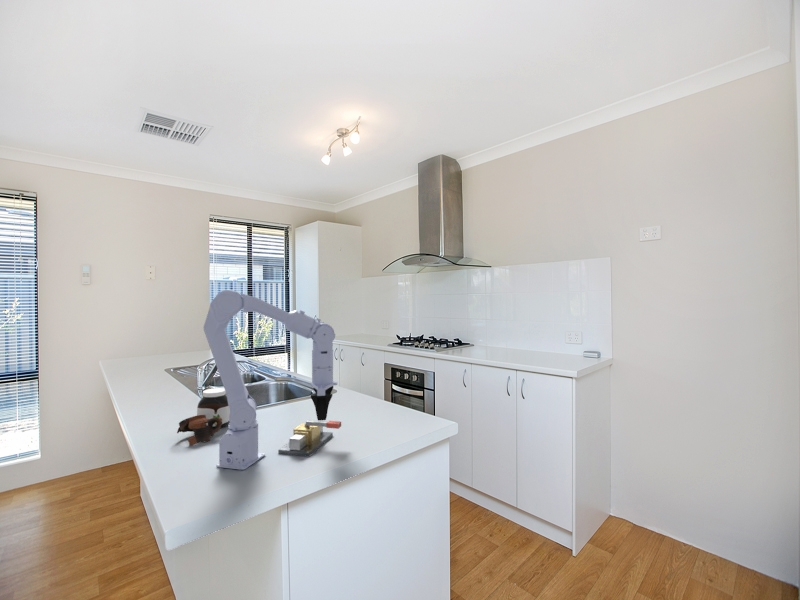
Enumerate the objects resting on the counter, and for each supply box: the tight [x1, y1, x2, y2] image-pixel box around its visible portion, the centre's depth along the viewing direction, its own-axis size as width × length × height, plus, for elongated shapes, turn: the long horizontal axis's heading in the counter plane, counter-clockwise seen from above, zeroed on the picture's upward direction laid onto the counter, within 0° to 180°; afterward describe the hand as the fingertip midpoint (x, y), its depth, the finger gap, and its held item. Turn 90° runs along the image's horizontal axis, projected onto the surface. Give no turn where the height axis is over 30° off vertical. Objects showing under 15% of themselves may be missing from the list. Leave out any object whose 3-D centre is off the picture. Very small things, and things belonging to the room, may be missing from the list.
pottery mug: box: [176, 414, 222, 446], centre depth 117 cm, size 12×10×8 cm
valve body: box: [277, 422, 334, 457], centre depth 112 cm, size 16×9×5 cm, turn 167°
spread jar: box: [196, 387, 230, 429], centre depth 130 cm, size 12×11×12 cm
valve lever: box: [305, 419, 342, 429], centre depth 111 cm, size 11×2×2 cm, turn 77°
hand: (322, 415), depth 108 cm, fingers open, 7 cm apart
